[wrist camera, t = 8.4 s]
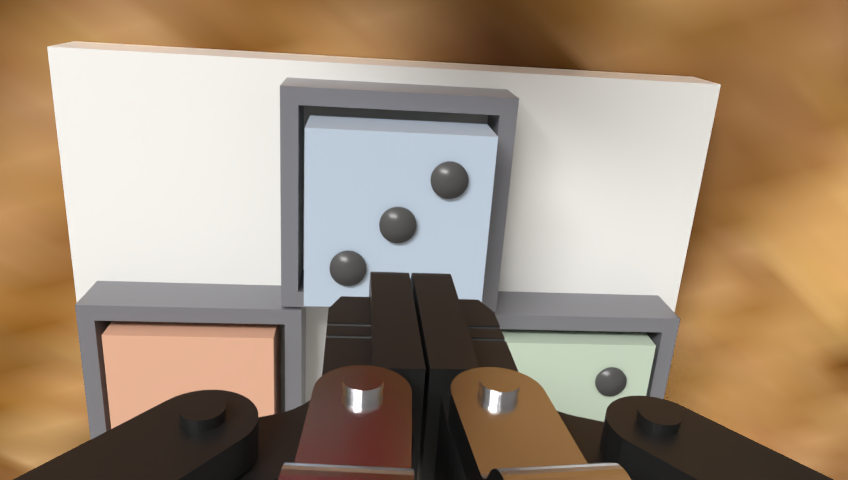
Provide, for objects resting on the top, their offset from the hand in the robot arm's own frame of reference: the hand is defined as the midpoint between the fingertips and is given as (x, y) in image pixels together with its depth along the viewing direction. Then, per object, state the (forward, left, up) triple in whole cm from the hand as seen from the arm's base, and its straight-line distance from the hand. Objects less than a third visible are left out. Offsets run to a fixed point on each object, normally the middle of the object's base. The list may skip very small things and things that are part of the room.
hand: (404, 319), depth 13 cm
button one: (+6, +7, -9) cm, 13 cm away
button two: (-6, +7, -9) cm, 13 cm away
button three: (0, 0, -8) cm, 8 cm away
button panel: (0, +4, -12) cm, 12 cm away
